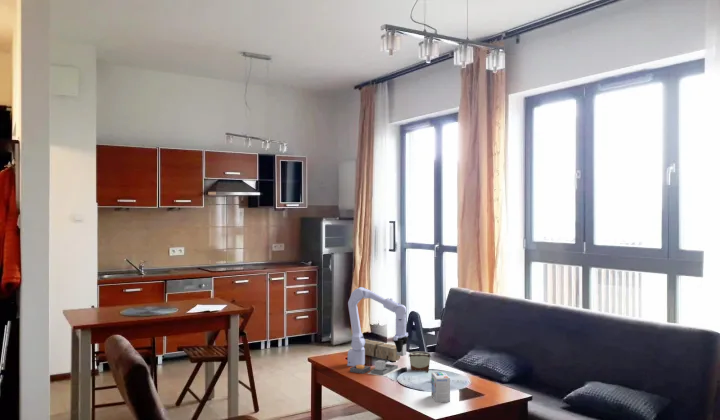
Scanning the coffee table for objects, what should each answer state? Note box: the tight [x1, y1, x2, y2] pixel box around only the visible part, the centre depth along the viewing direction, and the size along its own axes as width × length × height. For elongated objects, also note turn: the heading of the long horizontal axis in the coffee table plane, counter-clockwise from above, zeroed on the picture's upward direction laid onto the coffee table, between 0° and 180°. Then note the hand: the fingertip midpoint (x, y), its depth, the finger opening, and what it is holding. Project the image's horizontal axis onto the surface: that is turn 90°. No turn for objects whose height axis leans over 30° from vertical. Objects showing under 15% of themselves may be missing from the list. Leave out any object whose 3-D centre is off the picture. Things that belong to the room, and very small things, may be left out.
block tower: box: [364, 338, 401, 362], centre depth 343 cm, size 8×8×29 cm
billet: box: [397, 343, 407, 357], centre depth 315 cm, size 4×4×6 cm
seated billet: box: [374, 359, 386, 372], centre depth 301 cm, size 4×4×6 cm
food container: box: [408, 350, 432, 372], centre depth 309 cm, size 12×6×10 cm, turn 84°
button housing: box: [349, 365, 371, 375], centre depth 305 cm, size 8×8×3 cm
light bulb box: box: [430, 371, 451, 403], centre depth 259 cm, size 11×7×11 cm, turn 5°
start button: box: [355, 364, 365, 369], centre depth 305 cm, size 4×4×3 cm
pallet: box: [366, 363, 402, 377], centre depth 305 cm, size 11×19×2 cm, turn 149°
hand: (400, 351), depth 315 cm, fingers closed on billet, 4 cm apart
